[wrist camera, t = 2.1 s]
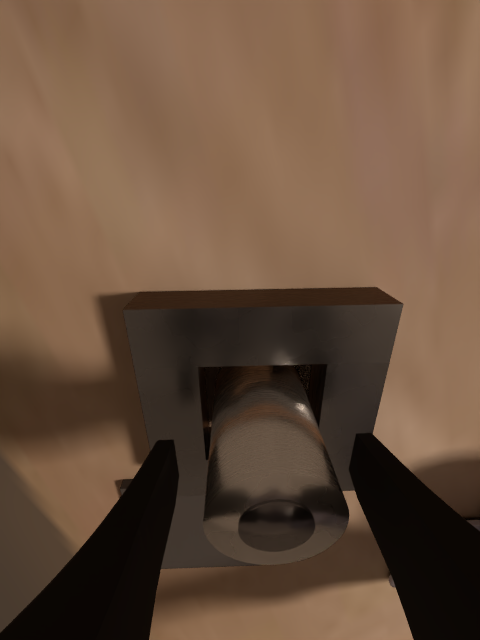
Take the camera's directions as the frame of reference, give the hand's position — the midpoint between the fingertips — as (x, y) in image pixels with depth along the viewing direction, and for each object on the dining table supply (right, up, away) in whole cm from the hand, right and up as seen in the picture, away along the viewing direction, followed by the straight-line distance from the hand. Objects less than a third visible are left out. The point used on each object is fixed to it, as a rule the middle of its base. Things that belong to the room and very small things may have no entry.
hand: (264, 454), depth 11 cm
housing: (0, +2, +4) cm, 4 cm away
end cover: (0, +2, +4) cm, 4 cm away
